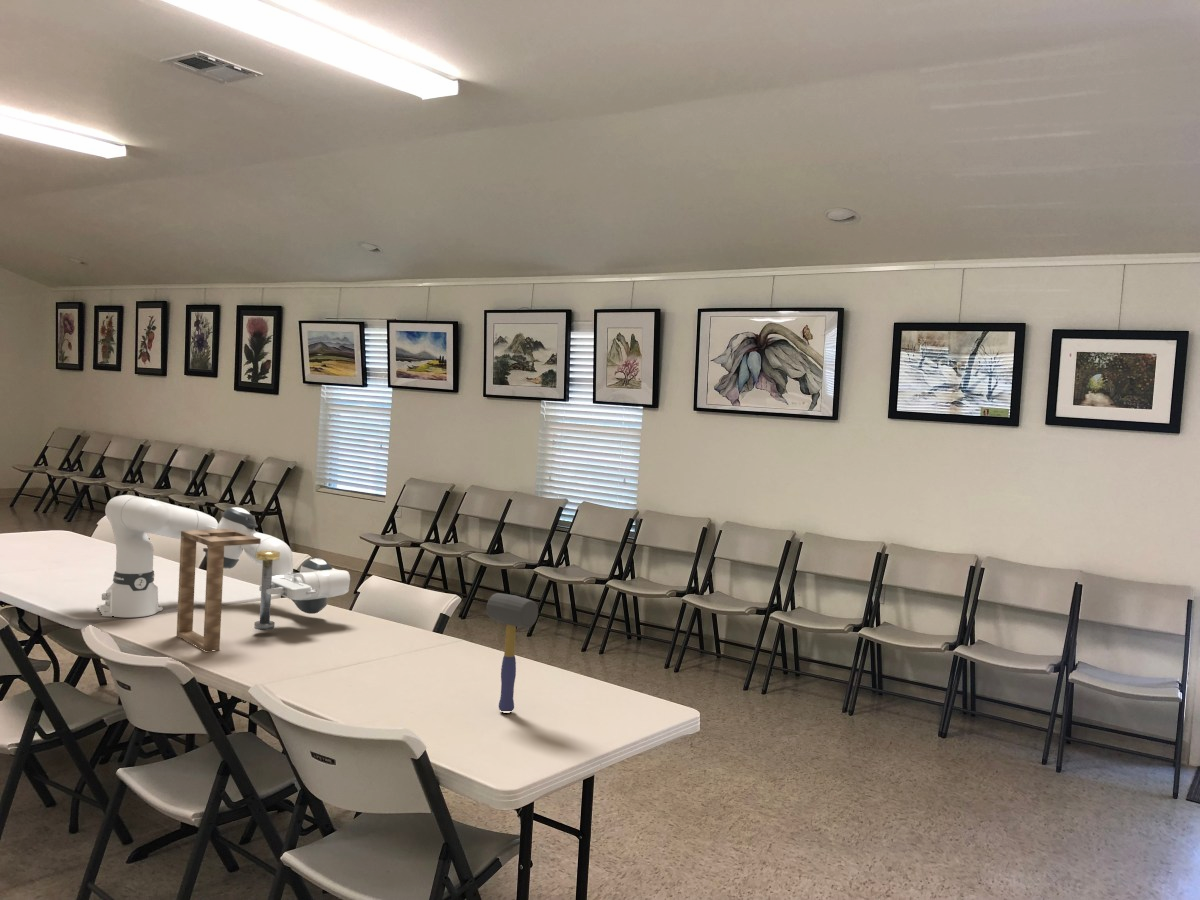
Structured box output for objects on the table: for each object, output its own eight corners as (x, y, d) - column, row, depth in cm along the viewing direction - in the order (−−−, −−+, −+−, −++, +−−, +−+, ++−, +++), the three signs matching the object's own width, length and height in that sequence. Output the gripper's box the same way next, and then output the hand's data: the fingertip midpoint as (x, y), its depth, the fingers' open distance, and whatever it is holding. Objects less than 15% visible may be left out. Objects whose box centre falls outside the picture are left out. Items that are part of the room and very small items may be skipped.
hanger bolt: (248, 626, 298) (252, 551, 297) (269, 623, 303) (273, 549, 302) (258, 631, 293) (262, 554, 292) (279, 628, 298) (283, 553, 297)
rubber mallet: (477, 710, 239) (484, 593, 238) (497, 703, 245) (504, 589, 244) (514, 722, 232) (521, 601, 230) (534, 715, 238) (541, 597, 236)
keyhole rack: (224, 629, 300) (229, 528, 299) (255, 645, 285) (260, 538, 283) (176, 635, 290) (181, 531, 288) (205, 652, 274) (210, 541, 273)
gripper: (319, 602, 299) (278, 606, 290) (289, 589, 314) (249, 593, 304) (320, 582, 299) (279, 586, 289) (290, 571, 313) (249, 574, 304)
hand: (263, 590), depth 297 cm, fingers closed on hanger bolt, 3 cm apart
